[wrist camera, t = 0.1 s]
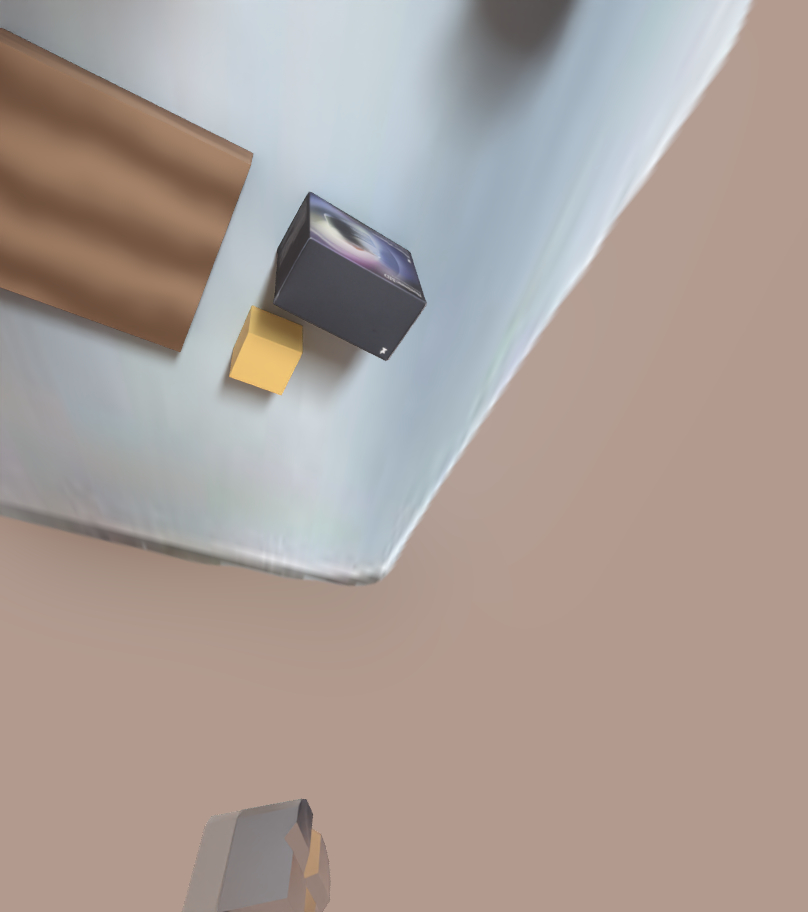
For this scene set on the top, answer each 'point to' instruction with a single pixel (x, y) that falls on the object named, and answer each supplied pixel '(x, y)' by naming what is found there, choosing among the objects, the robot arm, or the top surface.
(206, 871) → the robot arm
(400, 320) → the small box
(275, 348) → the mustard block
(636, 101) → the top surface
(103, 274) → the base board
